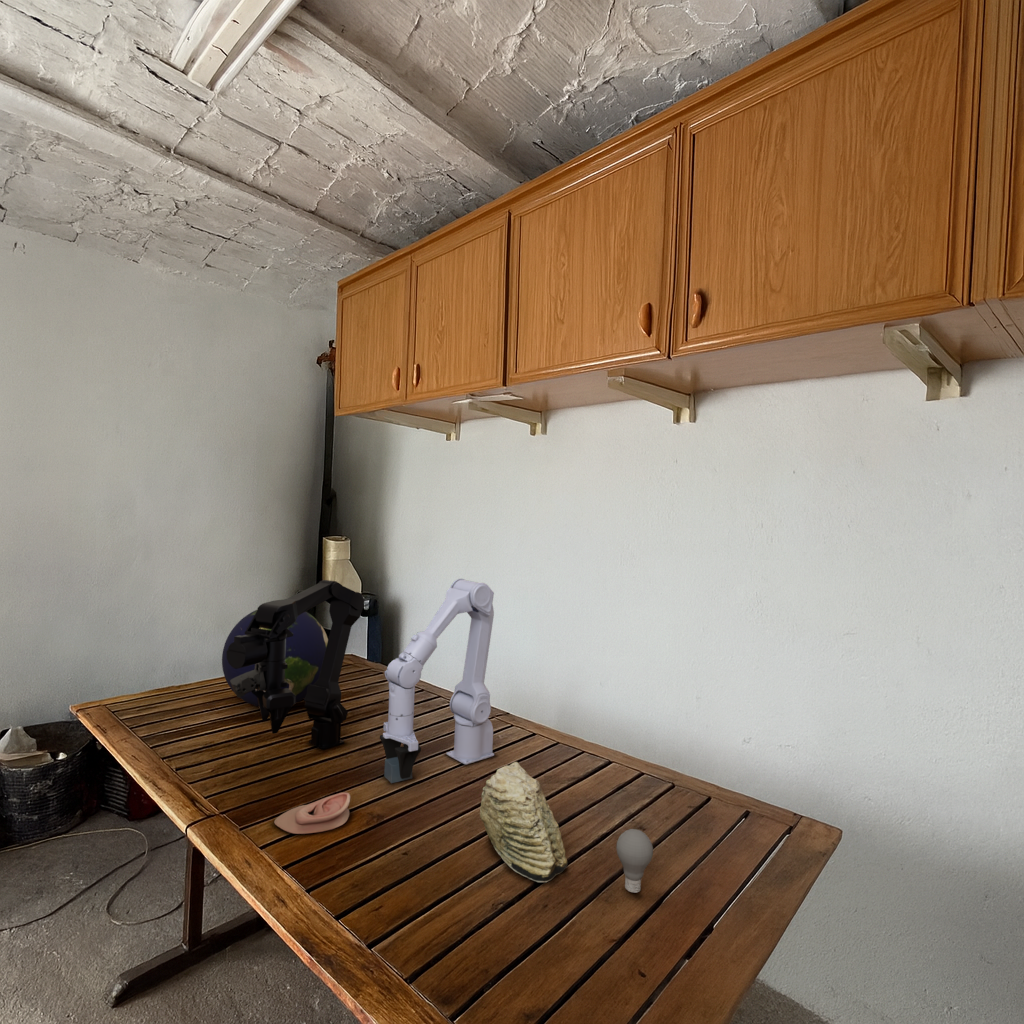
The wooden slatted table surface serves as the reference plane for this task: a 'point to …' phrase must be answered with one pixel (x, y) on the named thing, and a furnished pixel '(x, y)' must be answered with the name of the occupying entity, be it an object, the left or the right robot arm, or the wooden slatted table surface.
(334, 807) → the anatomical model
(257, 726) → the wooden slatted table surface
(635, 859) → the light bulb
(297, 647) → the globe
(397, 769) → the brick
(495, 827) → the fossil
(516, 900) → the wooden slatted table surface
